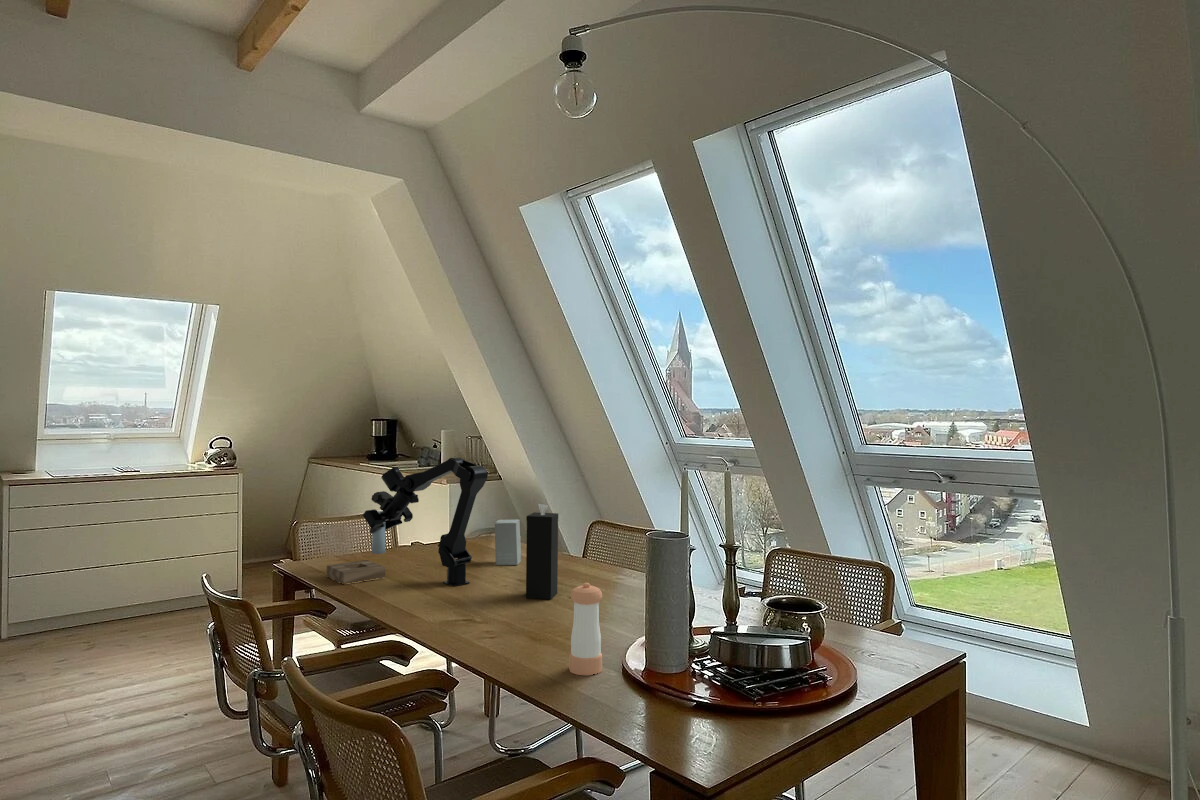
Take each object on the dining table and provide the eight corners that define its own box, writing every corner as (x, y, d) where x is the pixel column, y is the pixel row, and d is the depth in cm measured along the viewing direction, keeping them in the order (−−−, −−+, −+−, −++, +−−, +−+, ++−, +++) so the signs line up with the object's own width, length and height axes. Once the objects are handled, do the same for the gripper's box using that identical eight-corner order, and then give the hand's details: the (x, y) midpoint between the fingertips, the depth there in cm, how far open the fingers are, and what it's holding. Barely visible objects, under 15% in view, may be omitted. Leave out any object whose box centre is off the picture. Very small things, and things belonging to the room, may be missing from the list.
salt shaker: (562, 671, 170) (563, 583, 170) (581, 662, 176) (582, 577, 176) (589, 678, 166) (590, 588, 166) (608, 668, 172) (609, 582, 172)
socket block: (385, 578, 256) (385, 566, 256) (343, 585, 246) (343, 572, 246) (366, 571, 266) (367, 559, 266) (326, 577, 257) (326, 565, 257)
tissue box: (550, 600, 231) (551, 506, 231) (525, 598, 232) (526, 505, 232) (557, 593, 239) (558, 502, 239) (532, 592, 240) (533, 501, 240)
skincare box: (521, 562, 284) (521, 519, 284) (517, 566, 277) (517, 522, 277) (498, 561, 285) (498, 518, 285) (493, 565, 278) (494, 521, 278)
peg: (387, 552, 268) (388, 511, 268) (377, 554, 264) (377, 513, 264) (379, 550, 270) (380, 510, 270) (369, 552, 267) (369, 512, 267)
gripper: (406, 481, 274) (383, 510, 279) (367, 486, 257) (343, 517, 263) (423, 505, 270) (399, 534, 275) (384, 512, 253) (359, 542, 259)
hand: (375, 531), depth 268 cm, fingers closed on peg, 4 cm apart
